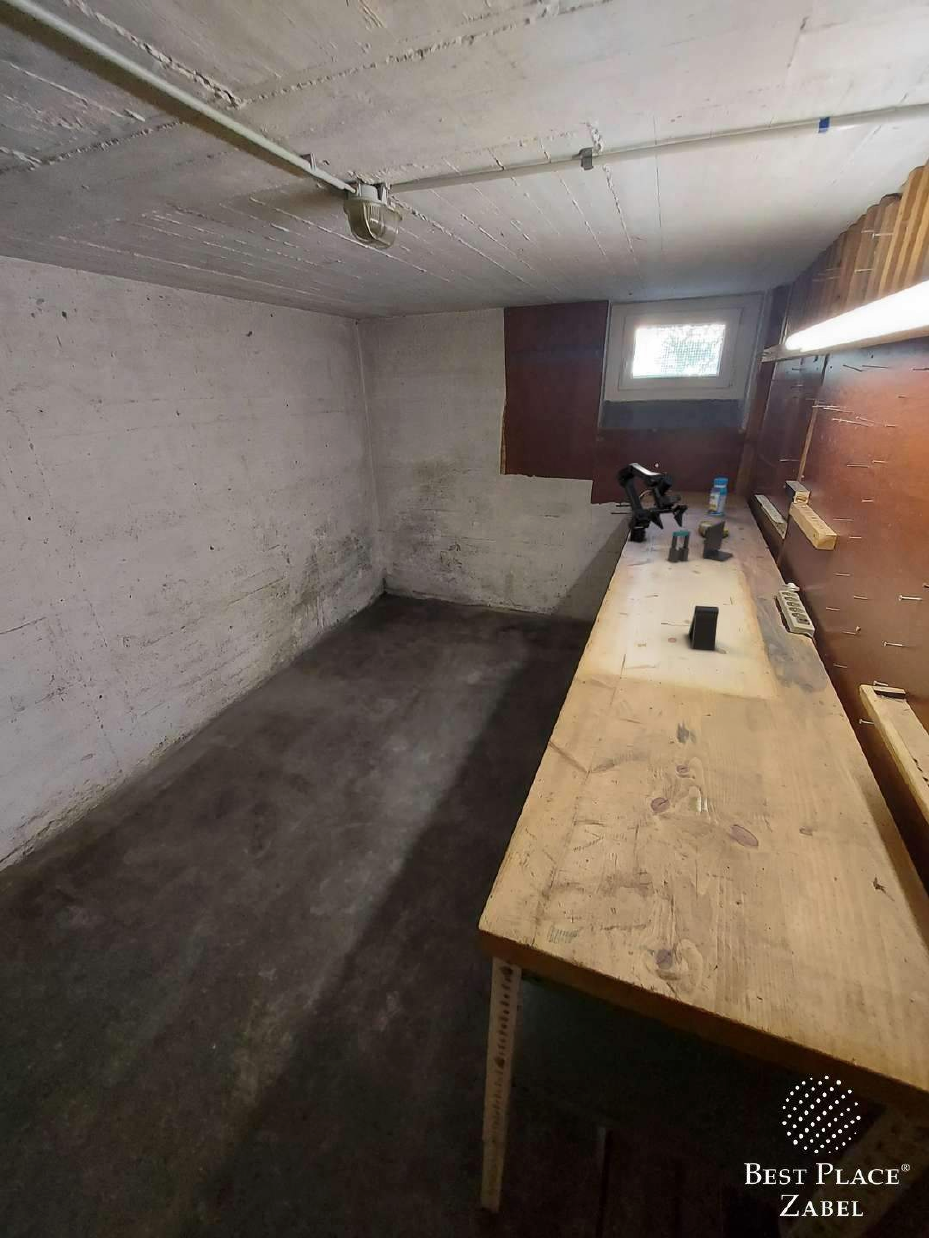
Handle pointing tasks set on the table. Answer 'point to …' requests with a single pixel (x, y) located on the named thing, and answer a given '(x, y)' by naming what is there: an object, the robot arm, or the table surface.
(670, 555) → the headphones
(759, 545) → the table surface
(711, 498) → the beverage bottle
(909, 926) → the table surface
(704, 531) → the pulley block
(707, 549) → the dark panel
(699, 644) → the phone stand
